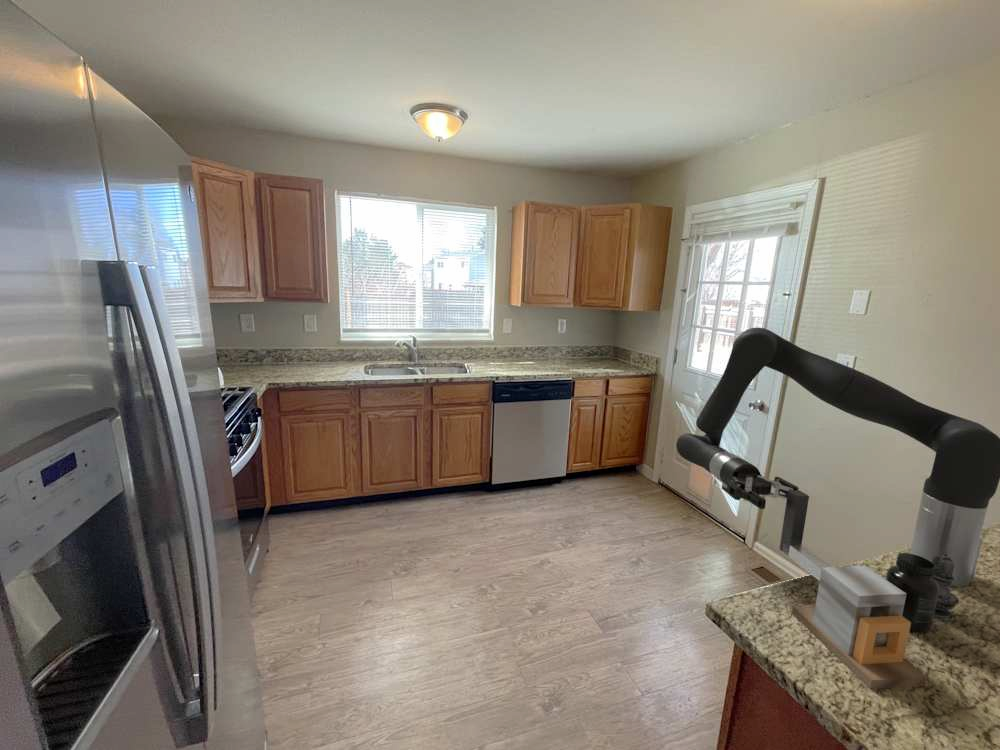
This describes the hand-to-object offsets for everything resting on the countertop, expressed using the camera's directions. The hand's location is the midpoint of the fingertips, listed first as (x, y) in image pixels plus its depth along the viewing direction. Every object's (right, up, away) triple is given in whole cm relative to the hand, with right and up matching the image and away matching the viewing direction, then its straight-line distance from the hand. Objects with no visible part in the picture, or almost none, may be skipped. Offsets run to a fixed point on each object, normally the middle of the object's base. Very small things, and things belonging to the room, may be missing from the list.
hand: (783, 504), depth 86 cm
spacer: (+2, -18, -20) cm, 27 cm away
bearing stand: (+1, -19, -15) cm, 24 cm away
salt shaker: (+24, -18, -6) cm, 31 cm away
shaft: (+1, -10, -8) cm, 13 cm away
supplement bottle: (+16, -18, -9) cm, 26 cm away
